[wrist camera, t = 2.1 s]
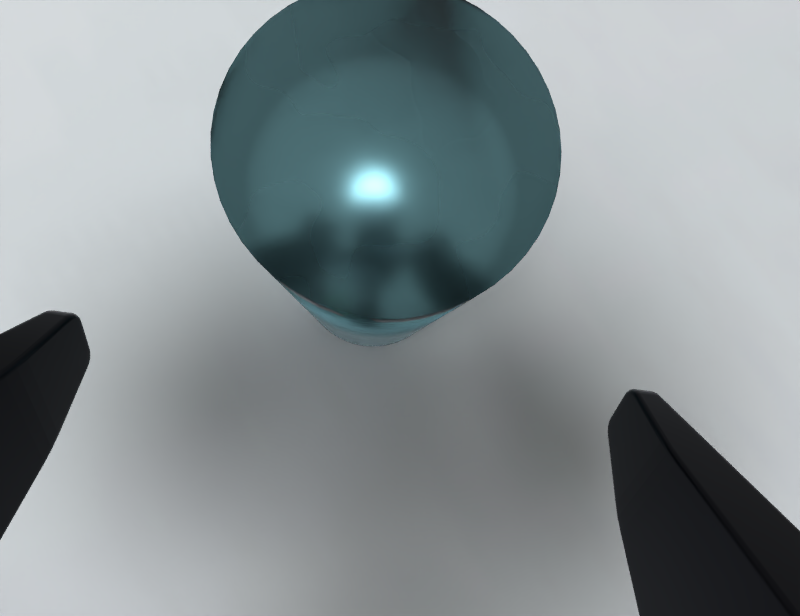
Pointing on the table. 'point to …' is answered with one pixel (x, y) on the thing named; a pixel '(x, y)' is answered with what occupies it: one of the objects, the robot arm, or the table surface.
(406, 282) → the ball
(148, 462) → the table surface
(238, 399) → the table surface
